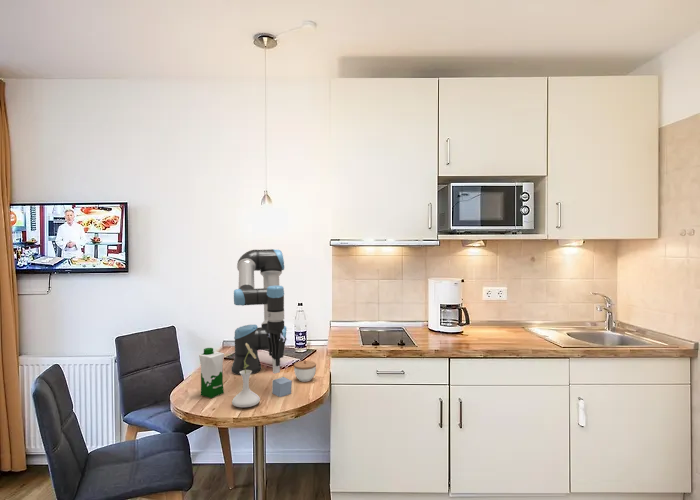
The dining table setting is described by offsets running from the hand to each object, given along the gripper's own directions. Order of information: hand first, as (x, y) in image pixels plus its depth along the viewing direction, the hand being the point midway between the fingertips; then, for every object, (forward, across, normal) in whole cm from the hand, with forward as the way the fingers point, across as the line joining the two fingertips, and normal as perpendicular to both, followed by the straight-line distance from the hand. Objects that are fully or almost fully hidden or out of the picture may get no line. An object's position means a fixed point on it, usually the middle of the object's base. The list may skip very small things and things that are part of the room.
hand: (276, 372), depth 185 cm
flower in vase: (+9, +3, -17) cm, 19 cm away
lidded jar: (+9, -4, +19) cm, 21 cm away
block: (+6, +1, 0) cm, 6 cm away
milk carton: (+9, -18, -22) cm, 29 cm away
